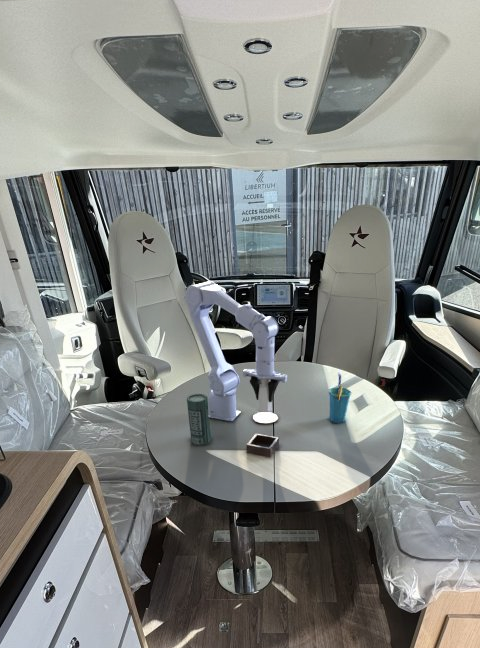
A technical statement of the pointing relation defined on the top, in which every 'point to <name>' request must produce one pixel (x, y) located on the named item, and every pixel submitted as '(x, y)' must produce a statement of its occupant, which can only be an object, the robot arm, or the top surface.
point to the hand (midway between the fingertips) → (264, 399)
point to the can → (199, 419)
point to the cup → (339, 402)
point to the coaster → (265, 418)
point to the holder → (260, 450)
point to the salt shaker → (264, 397)
